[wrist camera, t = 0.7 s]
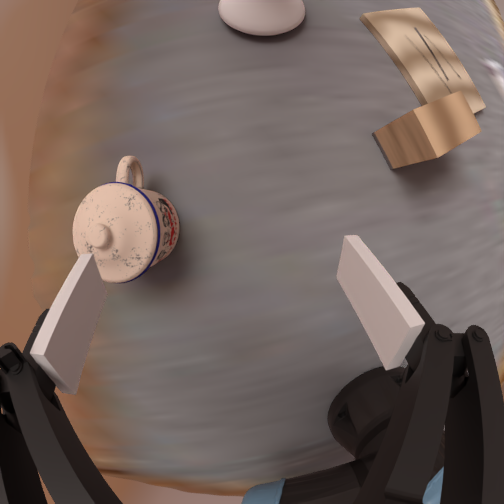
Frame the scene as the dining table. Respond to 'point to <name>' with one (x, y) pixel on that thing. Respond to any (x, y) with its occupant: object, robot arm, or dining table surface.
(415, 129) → the block
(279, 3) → the flower in vase
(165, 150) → the dining table surface
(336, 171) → the dining table surface
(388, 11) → the board
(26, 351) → the robot arm
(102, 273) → the teacup with lid
